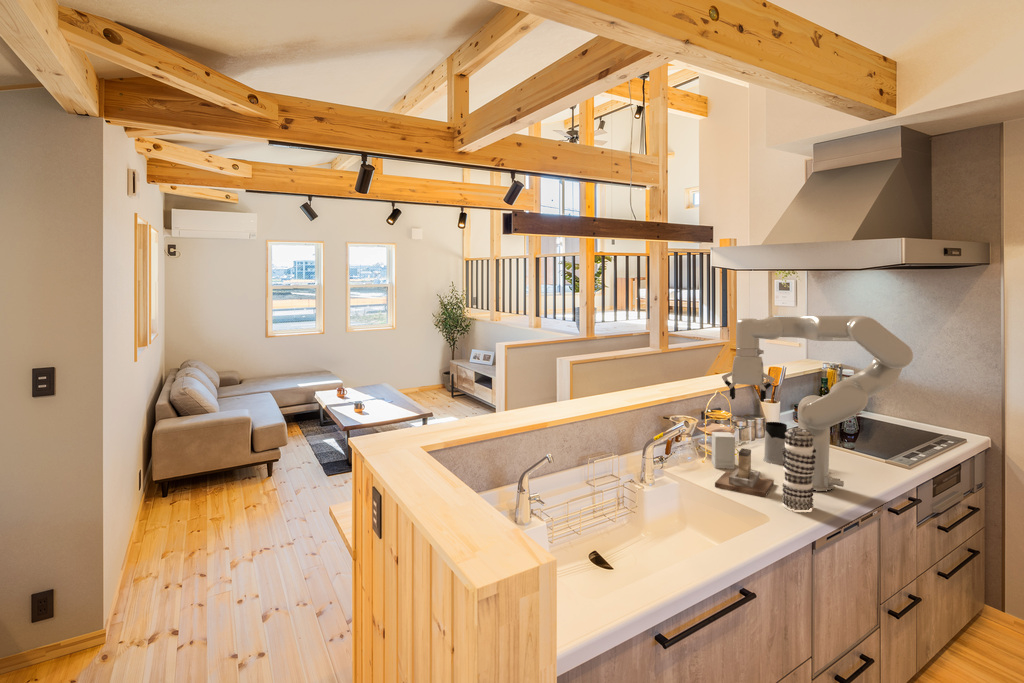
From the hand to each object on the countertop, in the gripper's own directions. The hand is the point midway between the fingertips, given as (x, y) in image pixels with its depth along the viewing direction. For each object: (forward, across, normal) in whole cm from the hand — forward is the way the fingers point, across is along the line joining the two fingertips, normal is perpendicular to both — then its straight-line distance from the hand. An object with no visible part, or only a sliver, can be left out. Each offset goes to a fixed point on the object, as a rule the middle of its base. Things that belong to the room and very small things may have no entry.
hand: (747, 399), depth 183 cm
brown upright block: (+27, 0, +9) cm, 29 cm away
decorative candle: (+29, -18, +20) cm, 40 cm away
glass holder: (+29, -9, -26) cm, 40 cm away
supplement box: (+29, +10, -9) cm, 32 cm away
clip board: (+29, 0, +9) cm, 30 cm away
